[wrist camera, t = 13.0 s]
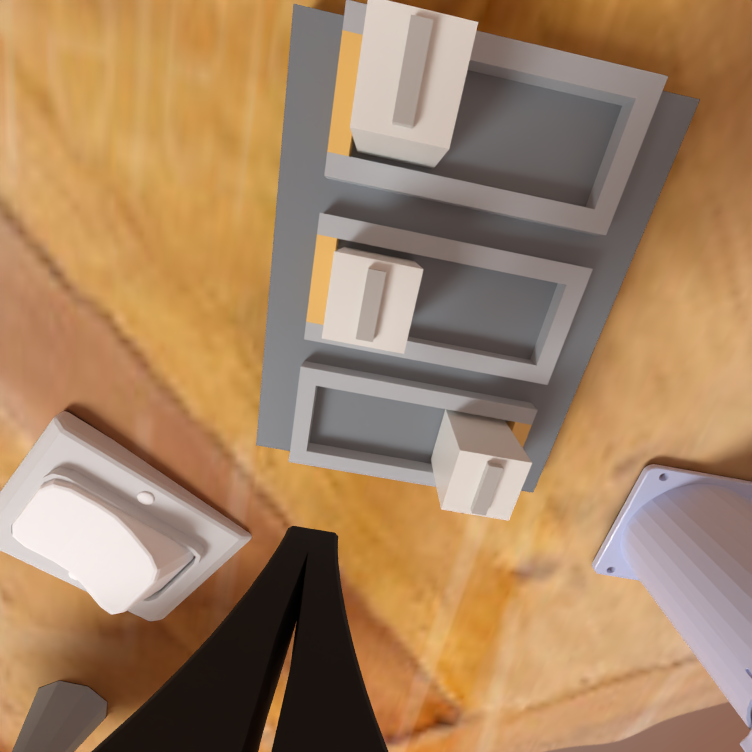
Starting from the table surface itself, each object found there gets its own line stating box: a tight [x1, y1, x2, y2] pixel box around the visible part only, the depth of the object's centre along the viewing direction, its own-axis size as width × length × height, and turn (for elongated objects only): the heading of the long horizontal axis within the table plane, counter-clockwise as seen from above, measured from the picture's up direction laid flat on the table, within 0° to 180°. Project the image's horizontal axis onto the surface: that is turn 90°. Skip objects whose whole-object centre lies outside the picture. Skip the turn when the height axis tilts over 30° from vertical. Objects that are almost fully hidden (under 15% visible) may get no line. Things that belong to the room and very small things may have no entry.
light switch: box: [0, 411, 252, 622], centre depth 22 cm, size 11×4×13 cm
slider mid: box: [322, 247, 423, 354], centre depth 14 cm, size 3×3×4 cm
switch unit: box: [256, 0, 700, 492], centre depth 17 cm, size 15×18×2 cm
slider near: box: [350, 0, 478, 169], centre depth 12 cm, size 3×3×4 cm
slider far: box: [431, 409, 532, 521], centre depth 17 cm, size 3×3×4 cm
